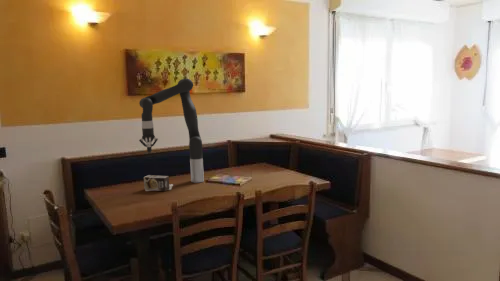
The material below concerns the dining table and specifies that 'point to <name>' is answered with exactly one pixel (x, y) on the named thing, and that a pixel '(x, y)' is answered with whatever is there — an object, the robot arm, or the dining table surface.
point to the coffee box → (156, 183)
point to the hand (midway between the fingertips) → (149, 152)
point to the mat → (168, 189)
